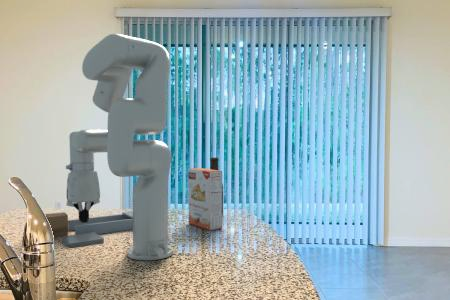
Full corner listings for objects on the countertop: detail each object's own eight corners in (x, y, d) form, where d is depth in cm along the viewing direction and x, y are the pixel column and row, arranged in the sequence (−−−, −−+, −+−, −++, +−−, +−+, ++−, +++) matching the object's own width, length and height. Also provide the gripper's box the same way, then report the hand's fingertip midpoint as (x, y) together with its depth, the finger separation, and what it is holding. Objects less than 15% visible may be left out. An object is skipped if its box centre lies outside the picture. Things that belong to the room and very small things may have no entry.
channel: (148, 227, 140) (147, 215, 140) (75, 237, 125) (75, 224, 125) (136, 221, 149) (136, 210, 149) (67, 230, 135) (67, 218, 134)
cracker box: (187, 224, 145) (187, 168, 144) (200, 221, 148) (200, 167, 148) (208, 231, 134) (208, 170, 133) (222, 228, 137) (222, 170, 137)
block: (67, 236, 126) (67, 215, 126) (47, 239, 123) (47, 217, 123) (64, 232, 132) (64, 212, 131) (45, 234, 128) (45, 213, 128)
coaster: (103, 242, 119) (103, 238, 119) (69, 247, 113) (69, 243, 113) (94, 235, 127) (94, 231, 127) (62, 240, 122) (62, 236, 122)
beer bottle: (202, 214, 163) (202, 157, 162) (219, 212, 166) (219, 157, 166) (209, 217, 156) (209, 158, 155) (226, 216, 159) (226, 157, 159)
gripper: (61, 169, 124) (63, 226, 124) (107, 167, 132) (109, 220, 132) (56, 168, 130) (58, 223, 130) (101, 166, 138) (102, 217, 138)
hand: (84, 222), depth 131 cm, fingers closed
